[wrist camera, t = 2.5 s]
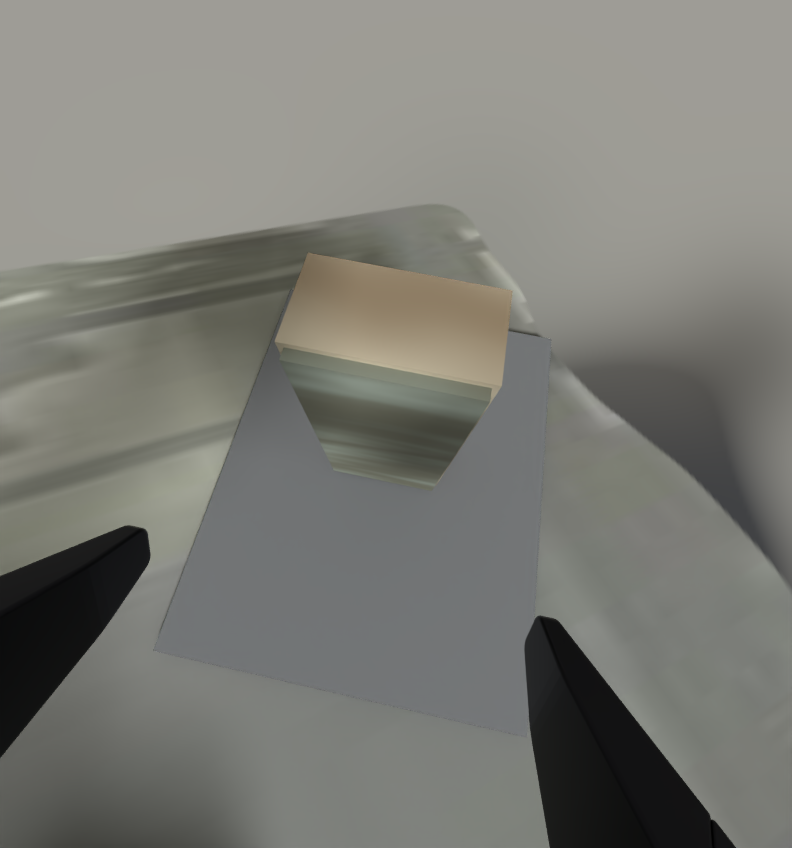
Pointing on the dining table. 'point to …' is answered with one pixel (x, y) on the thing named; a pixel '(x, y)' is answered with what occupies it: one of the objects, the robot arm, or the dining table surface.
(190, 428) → the dining table surface
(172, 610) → the rubber mat
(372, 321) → the brown rectangular block
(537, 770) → the robot arm
